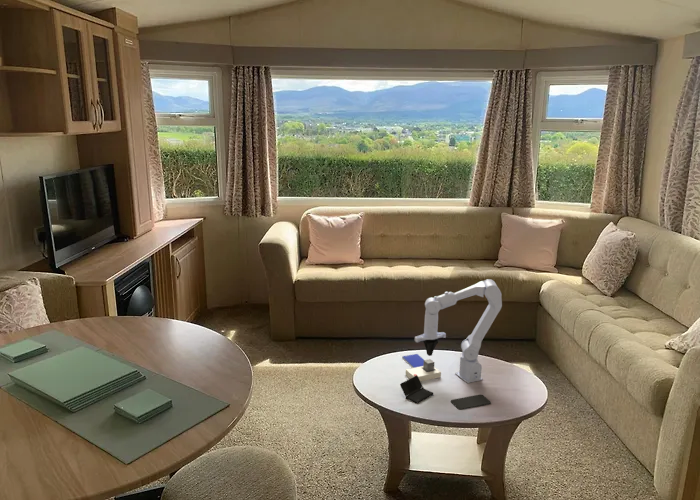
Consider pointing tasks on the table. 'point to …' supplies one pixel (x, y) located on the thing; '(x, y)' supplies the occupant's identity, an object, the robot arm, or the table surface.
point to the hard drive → (414, 360)
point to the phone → (470, 402)
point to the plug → (428, 365)
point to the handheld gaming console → (415, 390)
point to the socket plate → (423, 373)
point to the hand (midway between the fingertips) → (429, 354)
